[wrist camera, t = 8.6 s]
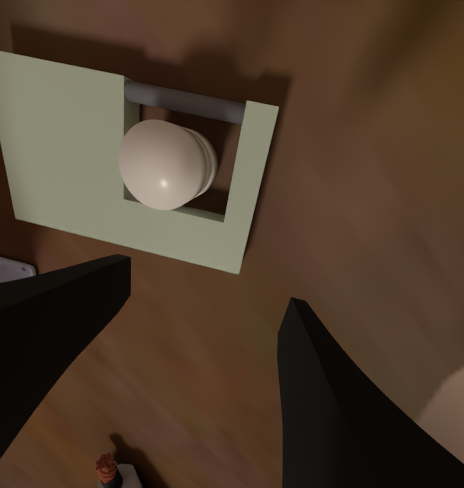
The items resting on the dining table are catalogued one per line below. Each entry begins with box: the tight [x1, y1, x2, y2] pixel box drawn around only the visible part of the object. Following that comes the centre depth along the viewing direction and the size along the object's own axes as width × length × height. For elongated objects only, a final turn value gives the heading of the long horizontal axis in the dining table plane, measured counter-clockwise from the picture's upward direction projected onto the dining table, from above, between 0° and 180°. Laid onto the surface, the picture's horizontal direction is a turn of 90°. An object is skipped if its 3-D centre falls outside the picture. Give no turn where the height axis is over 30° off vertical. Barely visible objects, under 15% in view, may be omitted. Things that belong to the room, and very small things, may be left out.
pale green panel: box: [0, 51, 279, 274], centre depth 18 cm, size 20×12×2 cm, turn 79°
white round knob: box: [118, 120, 218, 210], centre depth 15 cm, size 5×5×5 cm
